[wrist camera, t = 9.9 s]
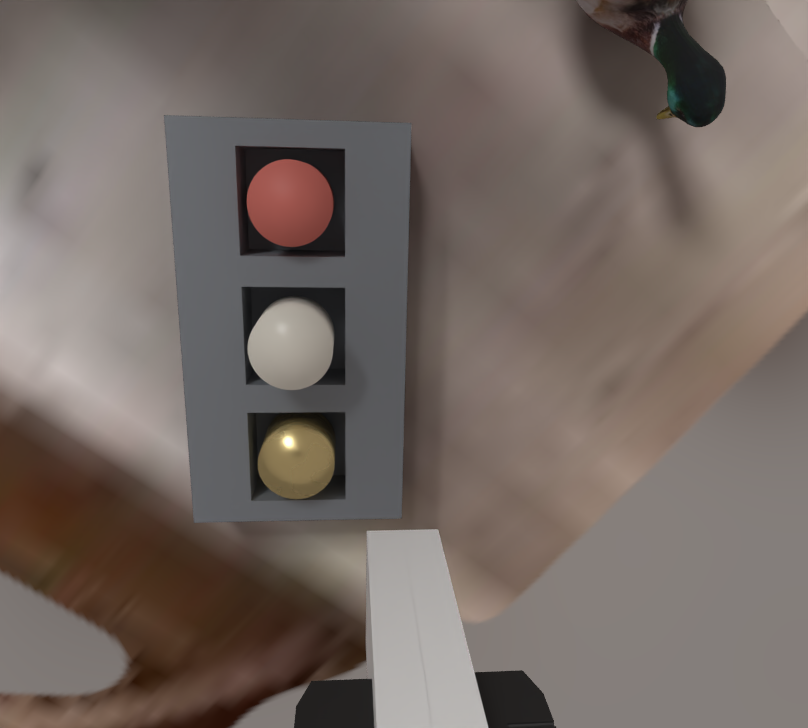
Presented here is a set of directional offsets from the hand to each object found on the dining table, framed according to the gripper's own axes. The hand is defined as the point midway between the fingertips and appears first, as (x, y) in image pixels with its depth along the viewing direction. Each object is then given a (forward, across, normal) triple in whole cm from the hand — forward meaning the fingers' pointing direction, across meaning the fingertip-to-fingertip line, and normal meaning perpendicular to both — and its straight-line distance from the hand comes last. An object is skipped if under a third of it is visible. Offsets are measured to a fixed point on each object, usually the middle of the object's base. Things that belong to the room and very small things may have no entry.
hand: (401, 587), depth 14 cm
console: (+26, -4, 0) cm, 27 cm away
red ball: (+25, -4, +7) cm, 26 cm away
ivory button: (+23, -4, 0) cm, 24 cm away
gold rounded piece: (+25, -4, -7) cm, 26 cm away
